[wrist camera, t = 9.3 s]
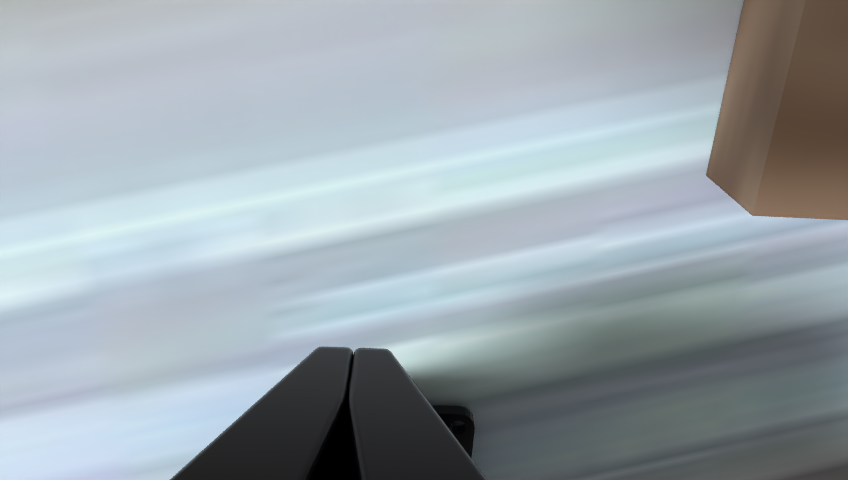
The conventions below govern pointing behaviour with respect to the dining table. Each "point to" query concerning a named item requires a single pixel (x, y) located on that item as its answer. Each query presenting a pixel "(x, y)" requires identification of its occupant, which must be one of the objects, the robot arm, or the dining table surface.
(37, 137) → the dining table surface
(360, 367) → the robot arm
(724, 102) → the walnut deck
